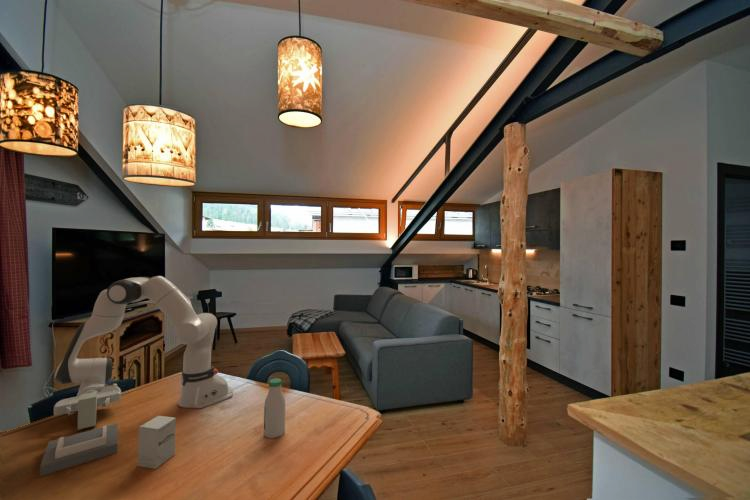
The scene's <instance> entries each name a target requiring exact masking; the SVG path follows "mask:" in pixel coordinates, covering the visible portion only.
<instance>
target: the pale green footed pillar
mask: <svg viewBox="0 0 750 500" xmlns="http://www.w3.org/2000/svg"><path fill="white" fill-rule="evenodd" d="M97 408H98V406H97V391H96V392H91V393H86V394H81V395H80V396H79V400H78V411H77V432H82V430H83V429H87V428H90V427H91V429H93V428H94V429H95V428H96V425H97V424H96V423H97Z"/></svg>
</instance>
